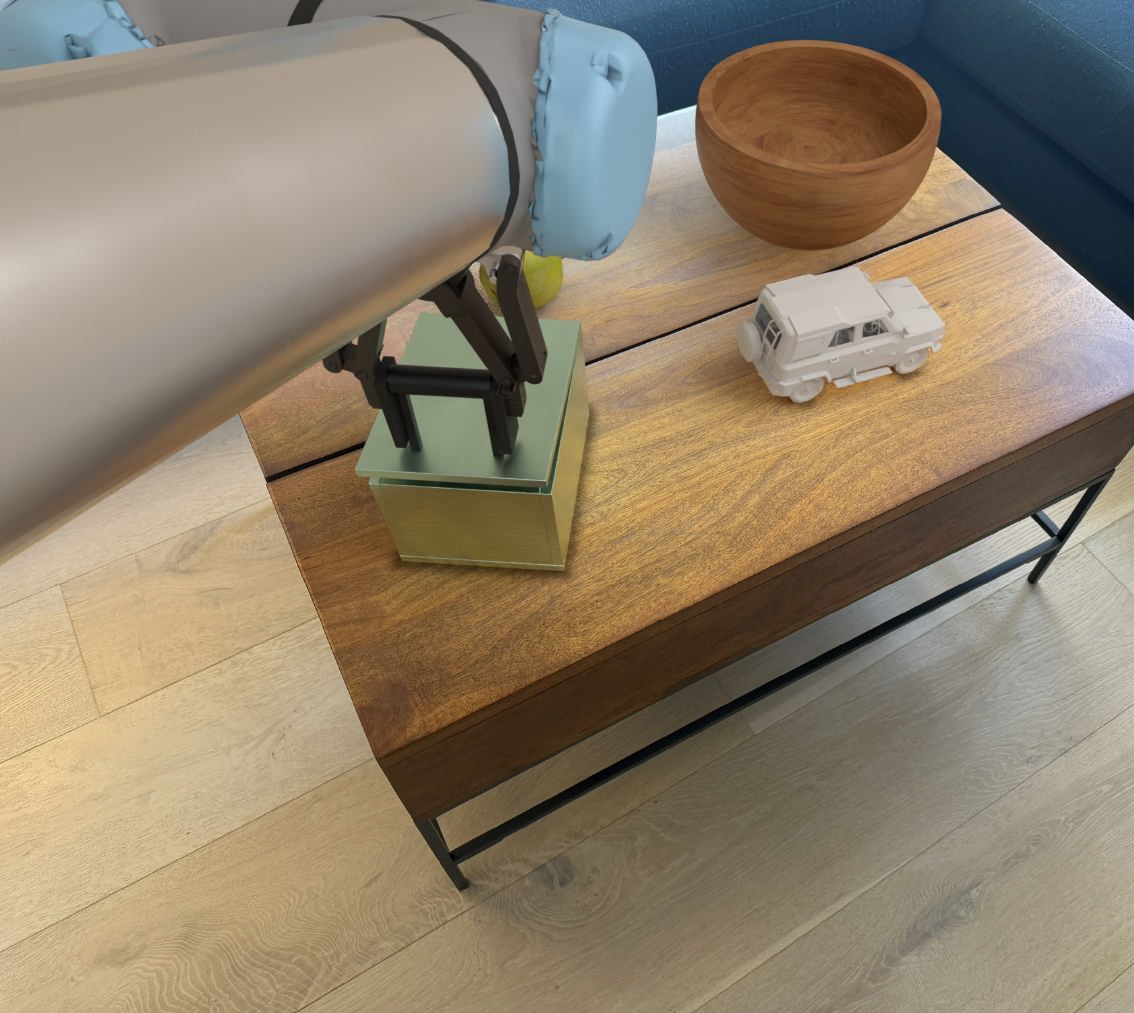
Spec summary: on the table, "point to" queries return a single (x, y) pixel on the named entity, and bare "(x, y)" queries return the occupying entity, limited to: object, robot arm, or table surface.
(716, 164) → the bowl
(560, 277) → the apple
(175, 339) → the robot arm
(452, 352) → the freezer lid
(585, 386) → the freezer
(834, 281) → the toy car
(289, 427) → the table surface
